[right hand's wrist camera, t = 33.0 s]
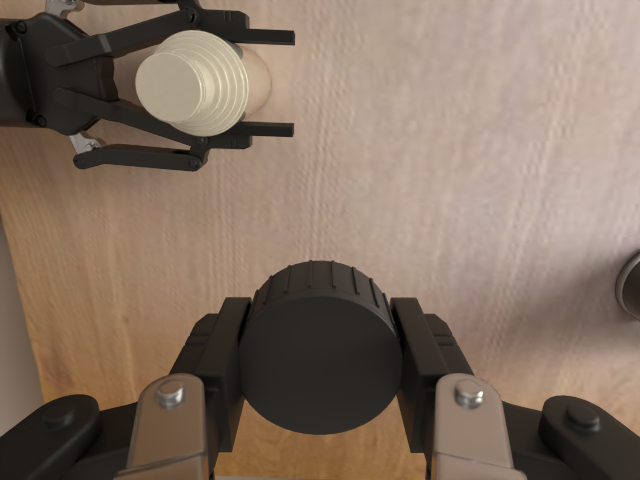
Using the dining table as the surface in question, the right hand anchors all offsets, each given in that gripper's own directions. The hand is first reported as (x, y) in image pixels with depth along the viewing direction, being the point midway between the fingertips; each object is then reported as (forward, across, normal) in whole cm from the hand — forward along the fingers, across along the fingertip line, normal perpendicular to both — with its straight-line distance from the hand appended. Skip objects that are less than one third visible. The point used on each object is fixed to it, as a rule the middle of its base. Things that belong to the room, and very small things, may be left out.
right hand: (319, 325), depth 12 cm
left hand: (+23, +2, -7) cm, 24 cm away
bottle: (+28, +7, -7) cm, 30 cm away
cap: (-2, 0, 0) cm, 2 cm away
